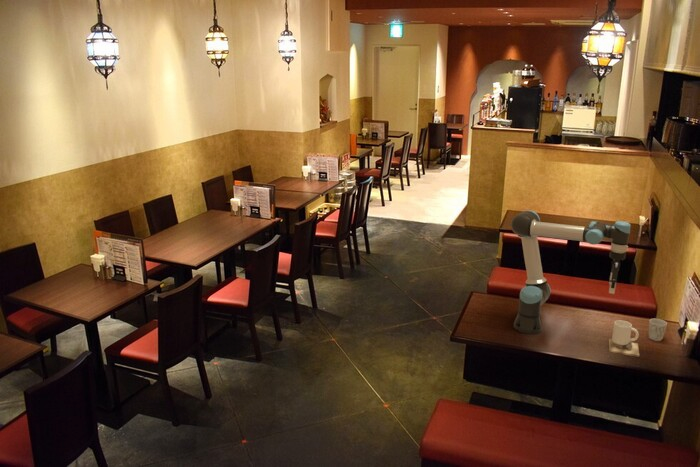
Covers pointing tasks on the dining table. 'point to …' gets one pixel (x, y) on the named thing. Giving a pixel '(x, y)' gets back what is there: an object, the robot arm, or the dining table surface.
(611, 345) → the peg stand
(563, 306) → the dining table surface
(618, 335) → the mug
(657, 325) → the mug
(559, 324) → the dining table surface
